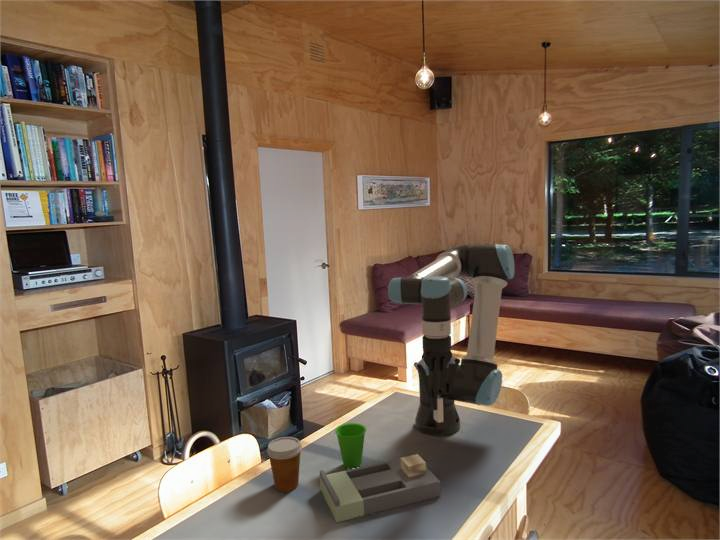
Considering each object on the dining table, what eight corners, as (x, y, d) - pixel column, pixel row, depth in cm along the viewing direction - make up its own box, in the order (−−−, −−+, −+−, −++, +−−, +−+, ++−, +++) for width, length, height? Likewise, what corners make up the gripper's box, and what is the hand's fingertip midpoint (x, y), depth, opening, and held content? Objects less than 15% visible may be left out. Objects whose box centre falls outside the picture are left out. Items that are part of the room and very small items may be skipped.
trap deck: (415, 468, 142) (414, 450, 142) (440, 495, 128) (440, 475, 128) (320, 490, 133) (319, 470, 133) (336, 522, 119) (335, 501, 119)
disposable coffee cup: (289, 499, 130) (286, 455, 128) (261, 489, 135) (258, 447, 133) (311, 481, 138) (308, 440, 136) (284, 473, 143) (282, 433, 141)
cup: (364, 474, 140) (363, 437, 139) (333, 472, 142) (331, 435, 141) (370, 458, 149) (368, 423, 148) (341, 456, 151) (339, 422, 150)
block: (417, 464, 137) (417, 454, 136) (426, 473, 132) (425, 462, 132) (401, 468, 135) (400, 457, 135) (408, 477, 130) (408, 466, 130)
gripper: (420, 341, 126) (423, 430, 129) (465, 335, 130) (466, 421, 133) (408, 334, 133) (410, 419, 136) (451, 329, 137) (452, 411, 140)
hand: (438, 420), depth 134 cm, fingers closed
